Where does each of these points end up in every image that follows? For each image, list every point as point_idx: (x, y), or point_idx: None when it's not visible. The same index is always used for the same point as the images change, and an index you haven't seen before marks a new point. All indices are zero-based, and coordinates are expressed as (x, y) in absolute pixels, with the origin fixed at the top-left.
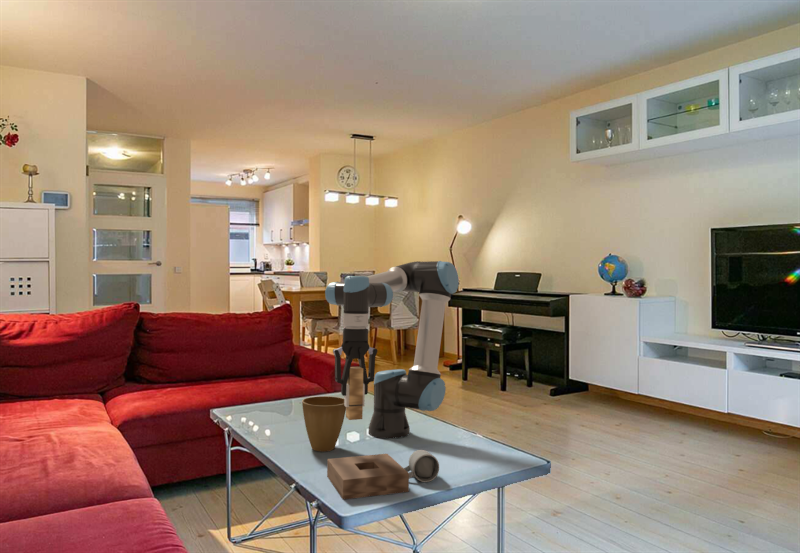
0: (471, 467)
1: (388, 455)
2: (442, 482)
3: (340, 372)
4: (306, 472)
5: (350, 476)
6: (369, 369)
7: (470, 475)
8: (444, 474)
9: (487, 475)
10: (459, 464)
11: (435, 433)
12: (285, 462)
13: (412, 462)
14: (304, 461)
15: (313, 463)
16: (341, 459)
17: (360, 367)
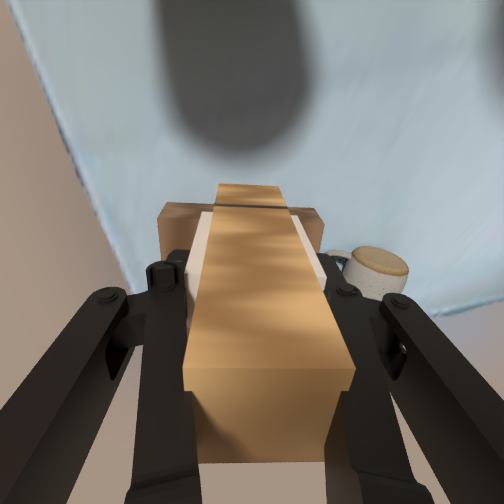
0: (490, 248)
1: (319, 239)
2: None
3: (101, 413)
4: (118, 154)
5: (187, 332)
6: (420, 392)
7: (448, 285)
8: (409, 267)
9: (475, 294)
10: (486, 223)
11: None
12: (50, 30)
13: None
14: (115, 44)
15: (143, 78)
16: (193, 232)
17: (332, 414)
